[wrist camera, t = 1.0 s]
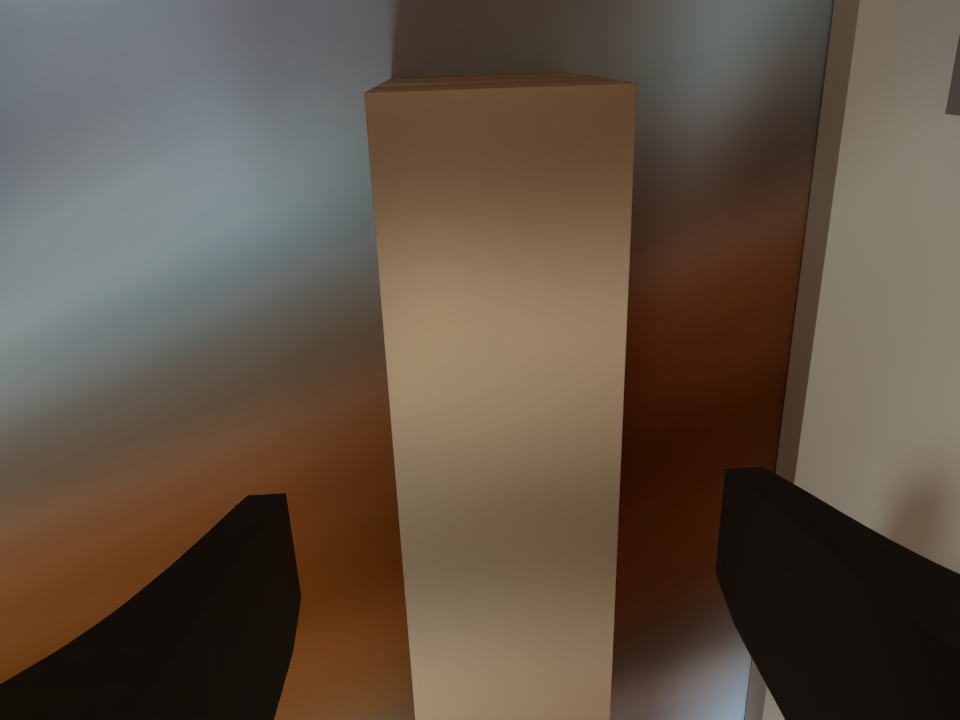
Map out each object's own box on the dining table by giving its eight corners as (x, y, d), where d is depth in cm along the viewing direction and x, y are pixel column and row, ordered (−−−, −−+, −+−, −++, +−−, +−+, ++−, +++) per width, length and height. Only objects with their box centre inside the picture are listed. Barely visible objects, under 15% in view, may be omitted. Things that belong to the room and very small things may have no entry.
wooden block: (560, 628, 21) (604, 840, 15) (429, 636, 21) (426, 852, 15) (566, 72, 15) (637, 83, 10) (391, 78, 15) (364, 92, 10)
